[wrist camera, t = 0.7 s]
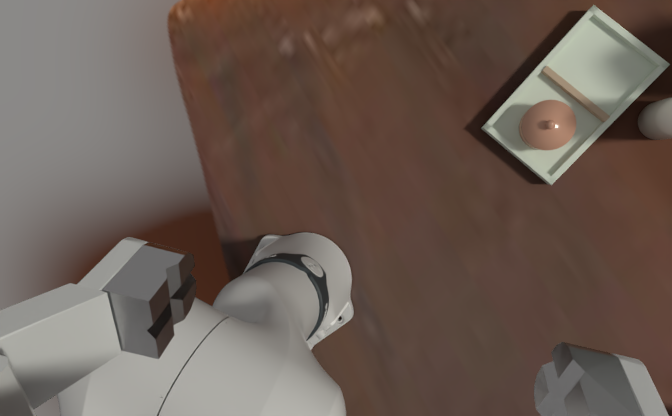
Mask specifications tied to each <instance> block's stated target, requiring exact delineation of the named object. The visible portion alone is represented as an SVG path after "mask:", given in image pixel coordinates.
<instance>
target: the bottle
mask: <svg viewBox="0 0 672 416" xmlns="http://www.w3.org/2000/svg"><path fill="white" fill-rule="evenodd" d="M638 127H639V130H640V132H641V133H642V134H643V135H644V136H646V137H647V138H650V139H653V140H662V139H670V138H672V97H671V98H667V99H664V100H660V101H657V102H653V103H651V104H649V105H647V106H646V107H645V108H644V109H643V110H642V111H641V112H640V114H639V117H638Z"/></svg>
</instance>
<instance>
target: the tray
mask: <svg viewBox="0 0 672 416" xmlns="http://www.w3.org/2000/svg"><path fill="white" fill-rule="evenodd" d="M669 65H670V64H669V63H668V62H666V61H665V60H664V59H663V58H661V57H660V56H659V55H657V54H656V53H655V52H654V51H652V50H651V49H650V48H648V47H647V46H646V45H645V44H643V43H642V42H641V41H639V40H638V39H637V38H636V37H634V36H633V35H632V34H630V33H629V32H628V31H627V30H625V29H624V28H623V27H621V26H620V25H619V24H618V23H616V22H615V21H614V20H612V19H611V18H610V17H609V16H607V15H606V14H605V13H603V12H602V11H601V10H600V9H598V8H597V7H596V6H594V5H593V6H592V7H591V8H590V9H589V10H588V11H587V12H586V13H585V14H584V15H583V16H582V17H581V19H580V20H579V21H578V22H577V23H576V24H575V25H574V26H573V27H572V29H571V30H570V31H569V32H568V33H567V34H566V35H565V36H564V37H563V38H562V40H561V41H560V42H559V43H558V44H557V45H556V46H555V47H554V48H553V49H552V51H551V52H550V53H549V54H548V55H547V56H546V57H545V58H544V59H543V60H542V62H541V63H540V64H539V65H538V66H537V67H536V68H535V69H534V70H533V71H532V73H531V74H530V75H529V76H528V77H527V78H526V79H525V80H524V81H523V82H522V84H521V85H520V86H519V87H518V88H517V89H516V90H515V91H514V92H513V93H512V95H511V96H510V97H509V98H508V99H507V100H506V101H505V102H504V103H503V105H502V106H501V107H500V108H499V109H498V110H497V111H496V112H495V113H494V114H493V116H492V117H491V118H490V119H489V120H488V121H487V122H486V123H485V124H484V125H483V127H482V128H481V129H482V130H483V131H485V132H486V133H487V134H488V135H489V136H491V137H492V138H493V139H494V140H495V141H497V142H498V143H499V144H500V145H501V146H502V147H504V148H505V149H506V150H507V151H508V152H510V153H511V154H512V155H513V156H514V157H516V158H517V159H518V160H519V161H520V162H522V163H523V164H524V165H525V166H526V167H528V168H529V169H530V170H531V171H532V172H534V173H535V174H536V175H537V176H538V177H540V178H541V179H542V180H543V181H544V182H546V183H547V184H550V185H552V184H553V183H554V182H555V181H556V180H557V179H558V178H559V177H560V176H561V175H562V174H563V173H564V172H565V171H566V170H567V169H568V168H569V167H570V166H571V165H572V164H573V163H574V161H575V160H576V159H577V158H578V157H579V156H580V155H581V154H582V153H583V152H584V151H585V150H586V149H587V148H588V147H589V146H590V145H591V144H592V143H593V142H594V141H595V140H596V139H597V138H598V137H599V136H600V135H601V134H602V133H603V132H604V131H605V130H606V129H607V128H608V127H609V126H610V125H611V124H612V123H613V122H614V121H615V120H616V119H617V118H618V117H619V116H620V115H621V114H622V113H623V112H624V111H625V110H626V109H627V108H628V107H629V106H630V105H631V104H632V103H633V102H634V101H635V100H636V99H637V98H638V96H639V95H640V94H641V93H642V92H643V91H644V90H645V89H646V88H647V87H648V86H649V85H650V84H651V83H652V82H653V81H654V80H655V79H656V78H657V77H658V76H659V75H660V74H661V73H662V72H663V71H664V70H665V69H666V68H667V67H668V66H669ZM544 100H558V101H561V102H563V103H565V104H566V105H568V106H569V107H570V108H571V109H572V111H573V112H574V114H575V117H576V130H575V133H574V135H573V137H572V138H571V139H570V141H569V142H568V143H566V144H565V145H564V146H562V147H560V148H558V149H554V150H537V149H533V148H531V147H529V146H528V145H526V144H525V143H524V142H523V141H522V139H521V137H520V134H519V123H520V120H521V118H522V116H523V115H524V114H525V113H526V112H527V111H528V110H529V109H530V108H531V107H532V106H533V105H535V104H537V103H539V102H541V101H544Z"/></svg>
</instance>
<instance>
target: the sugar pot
mask: <svg viewBox="0 0 672 416" xmlns="http://www.w3.org/2000/svg"><path fill="white" fill-rule="evenodd" d="M575 130H576V117H575V114H574V112H573V111H572V109H571V108H570V107H569V106H568V105H566V104H565V103H563V102H561V101H558V100H544V101H541V102H539V103H537V104H535V105H533V106H532V107H531V108H530V109H529V110H528V111H527V112H526V113H525V114H524V115H523V116H522V118H521V120H520V123H519V134H520V137H521V139H522V141H523V142H524V143H525V144H526V145H528V146H529V147H531V148H533V149H537V150H554V149H558V148H560V147H562V146H564V145H565V144H566V143H568V142H569V141H570V139H571V138H572V137H573V135H574V133H575Z"/></svg>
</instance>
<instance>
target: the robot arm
mask: <svg viewBox="0 0 672 416" xmlns="http://www.w3.org/2000/svg"><path fill="white" fill-rule="evenodd" d="M264 246H265V247H264ZM194 266H195V263H194V256H193V254H191V253H189V252H185V251H181V250H178V249H174V248H170V247H166V246H163V245H159V244H155V243H151V242H146V241H142V240H139V239H135V238H131V237H128V238H125V239H123V240H121V241H120V242H119V243H118V244H117V245H116V246H115V247H114V248H113V249H112V250H111V251H110V252H109V253H108V254H107V255H106V256H105V257H104V258H103V259H102V260H101V261H100V262H99V263H98V264H97V265H96V266H95V267H94V268H93V269H92V270H91V271H90V272H89V273H88V274H87V275H86V276H85V277H84V278H83V279H82V280H81V281H80V282H79V283H78V284H77V285H76V284H72V283H69V284H67V285H64V286H61V287H59V288H56V289H54V290H51V291H49V292H46V293H43V294H41V295H38V296H36V297H33V298H31V299H28V300H25V301H23V302H20V303H18V304H15V305H12V306H10V307H8V308H5V309H2V310H0V416H36V414H35V412H34V409H35V408H37V407H38V406H40V405H41V404H43V403H44V402H46V401H47V400H49V399H51V398H52V397H54V396H55V395H57V398H58V402H59V409H60V416H346V409H345V402H344V398H343V394H342V391H341V389H340V387H339V385H338V384H337V383H336V382H335V381H334V380H333V379H332V378H331V377H330V376H329V375H328V374H327V373H326V372H325V371H324V369H323V368H322V367H321V366H320V364H319V363H318V362H317V360H316V359H315V357H314V355H313V354H312V352H311V349H312V348H313V346H314V345H315V344H317V343H318V342H319V341H321V340H322V339H324V338H325V337H327V336H328V335H330V334H331V333H332V332H334V331H335V330H337V329H338V328H340V327H341V326H342V325H344V324H345V323H347V322H348V321H349V320H350V319H351V318H352V317H353V314H354V311H353V306H352V302H351V299H350V292H351V284H352V276H351V270H350V266H349V263H348V261H347V259H346V257H345V255H344V254H343V252H342V251H341V250H340V248H339V247H338V246H337V245H336V244H334V243H333V242H332V241H331V240H329V239H327V238H325V237H323V236H321V235H318V234H314V233H306V232H304V233H295V234H292V235H288V236H279V235H273V234H269V235H266V236H264V237H263V238H262V239H261V241H260V243H259V245H258V247H257V249H256V250H255V252H254V254H253V256H252V258H251V260H250V262H249V263H248V265H247V267H246V269H245V271H244V273H243V275H241V276H239V277H238V278H236V279H234V280H232V281H231V282H230V283H228V284H227V285H226V286H225V287H224V288H223V289H222V290H221V291H220V293H219V294H218V296H217V297H216V299H215V301H214V303H213V306H210V305H209V304H207V303H205V302H203V301H201V300H200V299H197V298H196V297H195V294H196V280H195V278H194V277H193V276H192V275H191V273H190V272H191V271H192V269H193V268H194ZM340 316H341V317H342V319H341V320H340V319H338V318H339V317H340ZM551 353H552V357H553V362H550V363H548V364H545V365H543V366H542V367H541V369H540V371H539V372H538V374H537V376H536V381H535V386H534V399H535V404H536V409H537V411H538V412H539V413H540V414H541V416H669V415H668V413H667V411H666V409H665V407H664V404H663V402H662V400H661V398H660V396H659V394H658V392H657V390H656V388H655V386H654V384H653V381H652V379H651V377H650V375H649V373H648V371H647V369H646V367H645V365H644V364H643V363H642V362H641V361H640V360H639V359H634V358H630V357H626V356H621V355H617V354H610V353H608V352H604V351H600V350H595V349H591V348H587V347H582V346H578V345H574V344H569V343H565V342H561V343H560V344H558V345H556V347H555V348H554V350H553V351H552V352H551Z"/></svg>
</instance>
